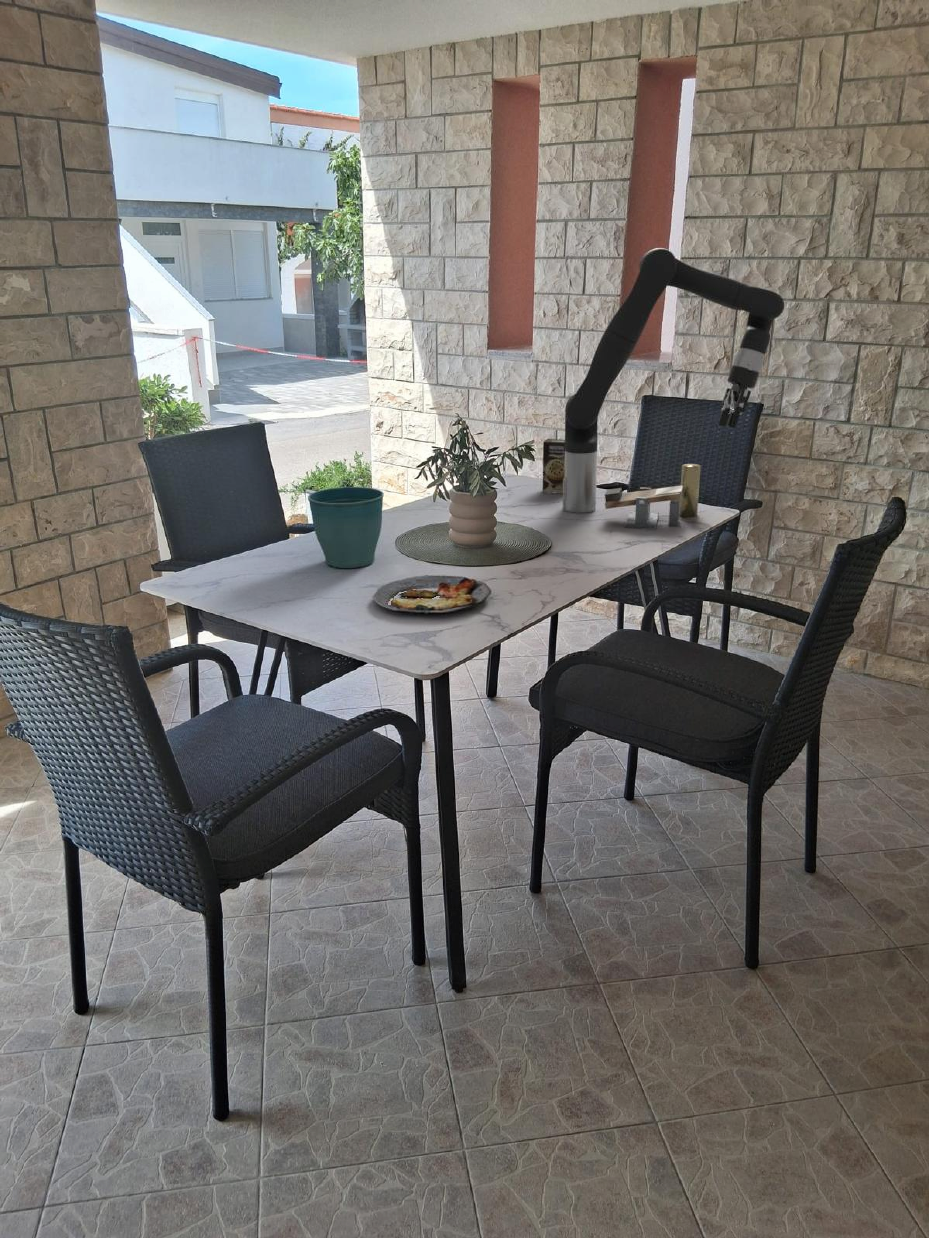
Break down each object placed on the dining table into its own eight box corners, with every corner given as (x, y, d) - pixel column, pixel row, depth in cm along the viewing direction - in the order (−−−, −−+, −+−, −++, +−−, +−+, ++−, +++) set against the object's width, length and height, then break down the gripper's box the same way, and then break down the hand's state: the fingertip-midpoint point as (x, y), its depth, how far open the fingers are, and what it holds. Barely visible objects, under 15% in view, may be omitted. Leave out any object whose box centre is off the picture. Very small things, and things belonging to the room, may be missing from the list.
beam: (605, 508, 255) (603, 496, 254) (609, 500, 264) (608, 488, 263) (682, 498, 249) (680, 486, 248) (683, 490, 258) (682, 478, 257)
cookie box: (541, 493, 294) (542, 441, 288) (546, 488, 300) (546, 438, 294) (570, 494, 291) (571, 442, 286) (574, 489, 297) (575, 439, 291)
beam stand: (625, 527, 253) (626, 498, 250) (630, 514, 266) (631, 486, 263) (676, 530, 250) (678, 500, 247) (679, 517, 263) (681, 488, 260)
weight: (678, 516, 263) (681, 467, 258) (679, 512, 268) (682, 463, 263) (696, 517, 262) (700, 467, 257) (697, 512, 266) (700, 464, 261)
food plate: (499, 585, 210) (499, 570, 209) (478, 623, 189) (477, 607, 188) (394, 583, 216) (392, 568, 215) (361, 619, 195) (359, 603, 194)
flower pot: (343, 548, 242) (338, 483, 236) (401, 557, 233) (398, 490, 227) (298, 567, 227) (292, 499, 221) (358, 577, 218) (353, 506, 212)
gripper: (725, 365, 260) (706, 422, 263) (741, 363, 246) (721, 424, 250) (750, 372, 260) (730, 429, 264) (768, 371, 247) (747, 431, 250)
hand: (726, 426), depth 257 cm, fingers open, 8 cm apart
